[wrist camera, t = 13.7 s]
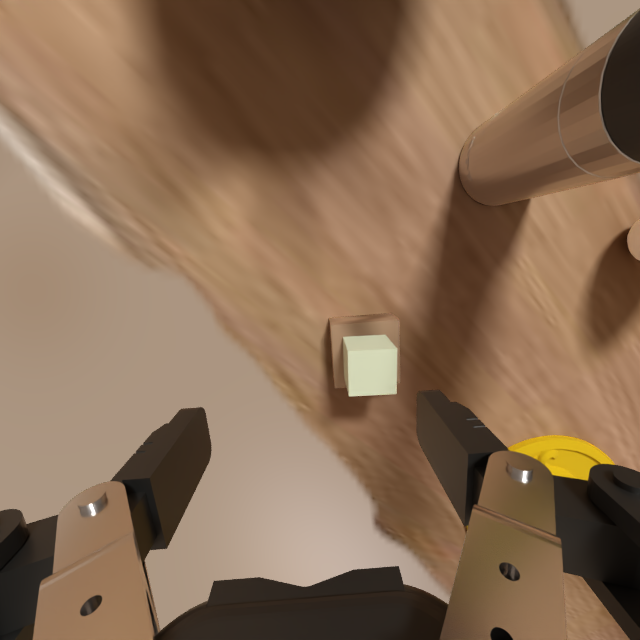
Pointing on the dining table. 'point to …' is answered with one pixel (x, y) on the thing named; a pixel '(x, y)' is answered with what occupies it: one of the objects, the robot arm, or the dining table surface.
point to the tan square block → (360, 327)
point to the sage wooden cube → (370, 365)
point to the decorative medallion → (563, 455)
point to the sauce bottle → (634, 240)
